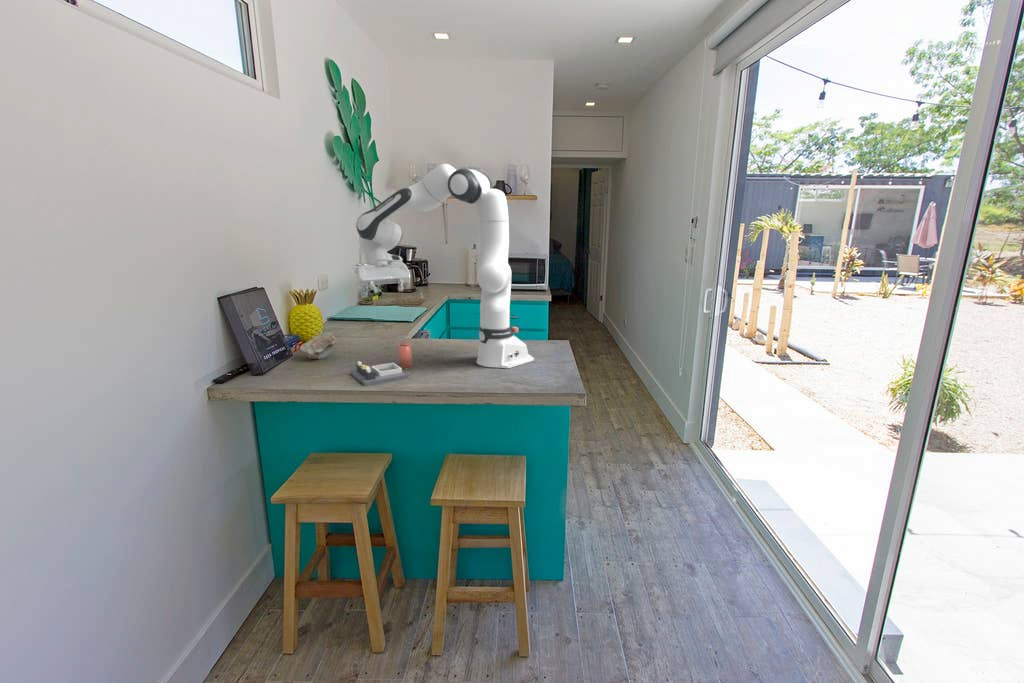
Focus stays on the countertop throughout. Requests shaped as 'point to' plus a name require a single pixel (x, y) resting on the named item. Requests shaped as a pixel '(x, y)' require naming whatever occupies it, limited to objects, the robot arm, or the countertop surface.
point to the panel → (377, 373)
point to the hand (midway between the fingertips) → (389, 291)
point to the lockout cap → (405, 355)
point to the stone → (319, 345)
